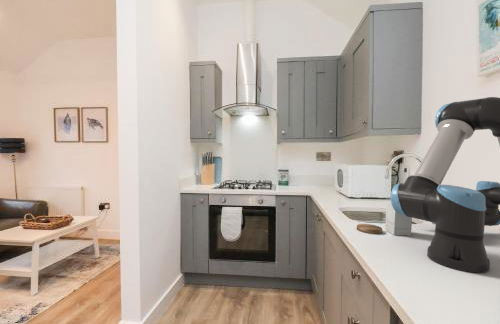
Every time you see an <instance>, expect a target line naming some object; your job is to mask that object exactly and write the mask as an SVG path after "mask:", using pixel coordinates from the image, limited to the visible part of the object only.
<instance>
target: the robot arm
mask: <svg viewBox="0 0 500 324" xmlns="http://www.w3.org/2000/svg"><path fill="white" fill-rule="evenodd" d="M434 124H435V126H436V127H435V128H437V129H436V130H437V132H438V133H437V134H436V136H435V138H434V140H433V141H432V143H431V145H430V147H429V148H428V150H427V152H426V153H425V156H424V157H423V159H422V161H421V163H420V164H419V166H418V168H417V169H416V171H415V173H414V174H411V175H408V176H407V178H406V179H405V181H404V182H403V183H402V182H400V183H399V182H398V183H396V184H394V186H393V187H392V188H391V193H390V202H391V204H392V207H393V209H394V210H395V211H396V212H397V213H399V214H401V215H405V216H407V217H412V219H417V220H421V221H424V222H425V221H426V222H429V223H431V225H434V226H435V230H434V235H433V237H432V240H431V242H430V245H429V246H428V247H427V251H426V252H427V253H426V256H427V258H428V259H430V260H431V261H433V262H434V263H437V264H439V265H442V266H445V267H448V268H452V269H454V270H458V271H463V272H469V273H479V274H480V273H488V272H489V271H490V270H491V267H490V266H491V261H490V259H489V258H488V255H487V251H486V247H485V244H484V237H485V235H484V234H485V227H488V226H489V227H493V226H495V227H496V226H500V225H499V224H500V211H499V210H500V209H499V206H500V182H497V181H491V180H490V181H489V180H479V181H477V182H476V187H475V189H473V188H469V187H463V186H460V185H459V186H457V185H451V184H442V182H443V181H444V179H445V177H446V175H447V173H448V171H449V169H450V167H451V165H452V164H453V162H454V160H455V158H456V156H457V154H458V152H459V150H460V149H461V147H462V145H463V143H464V141H465V140H468V139H470V138H471V137H473V134H474V133H475V131H480V130H483V131H484V130H489V131H491V132H492V133H491V134H492V136H493V137H495V138H497V140H498V144H499V146H500V97H497V96H490V97H488V96H487V97H483V98H476V99H468V100H462V101H453V102H449V103H446V104H443V105H442V106H441V107H440V108H439V109H438V110H437V112H436V114H435V120H434Z"/></svg>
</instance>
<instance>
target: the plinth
mask: <svg viewBox="0 0 500 324" xmlns="http://www.w3.org/2000/svg"><path fill="white" fill-rule="evenodd" d="M356 230H357V231H359V232H361V233H365V234H370V235H379V234H382V233H383V228H382V227H381V226H378V225H375V224H370V223H358V224H356Z"/></svg>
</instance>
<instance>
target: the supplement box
mask: <svg viewBox="0 0 500 324" xmlns="http://www.w3.org/2000/svg"><path fill="white" fill-rule="evenodd" d="M385 208H386V209H385V225H384V230H385V231H386V232H388V233H390V234H391V235H395V236H407V237H408V236H409V237H411V236H412V223H413V222H412V220H413V218H412V217H407V216H405V215H401V214H399V213H397V212H396V211H395V210H394V209H393V207H392V204H391V201H386V205H385Z"/></svg>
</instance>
